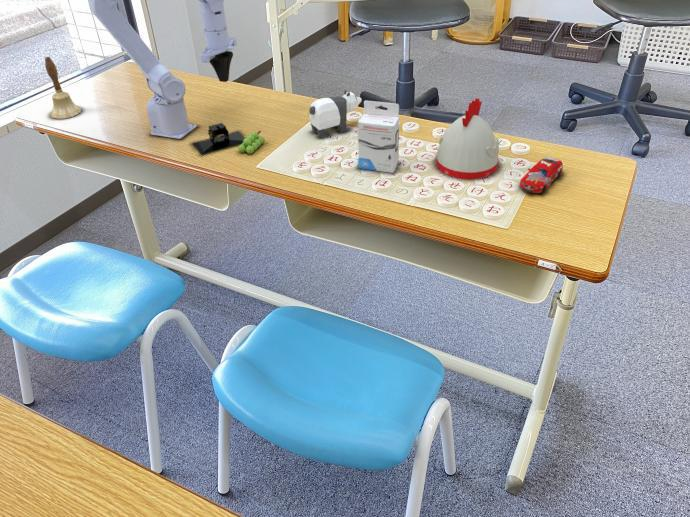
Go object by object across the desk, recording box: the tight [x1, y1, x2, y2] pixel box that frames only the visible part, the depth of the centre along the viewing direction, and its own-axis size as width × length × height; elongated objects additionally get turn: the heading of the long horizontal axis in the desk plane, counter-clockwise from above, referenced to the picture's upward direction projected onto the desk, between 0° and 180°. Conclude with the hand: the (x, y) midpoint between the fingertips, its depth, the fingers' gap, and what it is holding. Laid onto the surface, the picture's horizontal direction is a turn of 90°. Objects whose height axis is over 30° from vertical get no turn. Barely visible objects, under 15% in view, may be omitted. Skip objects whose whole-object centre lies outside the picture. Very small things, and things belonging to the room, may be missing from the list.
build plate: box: [191, 122, 246, 156], centre depth 148 cm, size 12×7×5 cm, turn 120°
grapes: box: [237, 130, 265, 155], centre depth 146 cm, size 4×9×3 cm, turn 159°
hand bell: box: [44, 56, 82, 120], centre depth 163 cm, size 8×8×16 cm
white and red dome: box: [435, 98, 500, 180], centre depth 131 cm, size 14×14×15 cm
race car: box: [519, 156, 564, 194], centre depth 127 cm, size 13×5×4 cm, turn 139°
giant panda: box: [308, 89, 363, 139], centre depth 150 cm, size 15×6×10 cm, turn 119°
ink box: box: [357, 100, 401, 174], centre depth 132 cm, size 8×5×15 cm, turn 72°
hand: (224, 80), depth 157 cm, fingers closed
